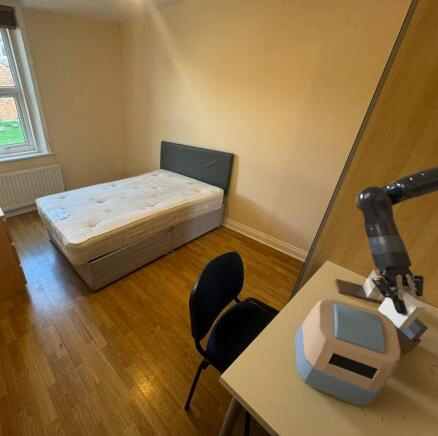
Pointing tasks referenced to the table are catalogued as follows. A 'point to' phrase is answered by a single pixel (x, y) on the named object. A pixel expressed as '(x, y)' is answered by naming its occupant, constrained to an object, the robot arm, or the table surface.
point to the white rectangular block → (402, 319)
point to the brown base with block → (362, 289)
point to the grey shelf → (406, 342)
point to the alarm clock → (346, 350)
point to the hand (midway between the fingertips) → (408, 313)
